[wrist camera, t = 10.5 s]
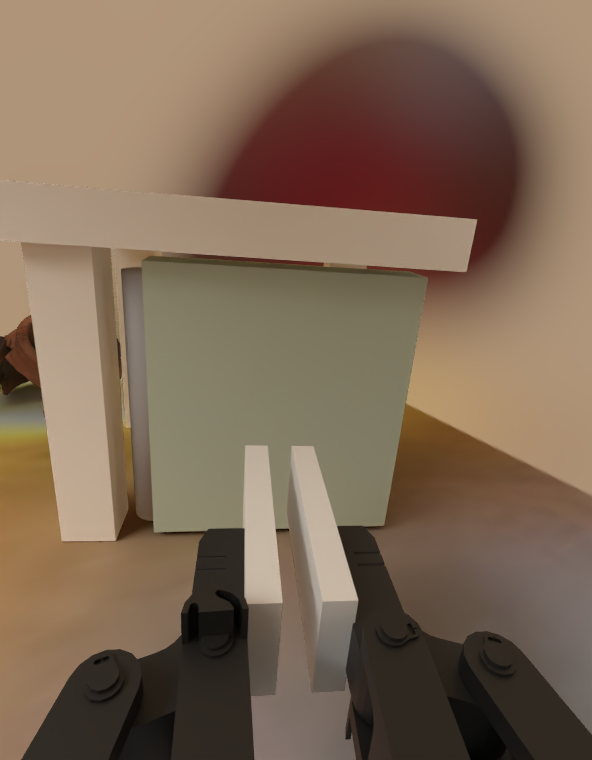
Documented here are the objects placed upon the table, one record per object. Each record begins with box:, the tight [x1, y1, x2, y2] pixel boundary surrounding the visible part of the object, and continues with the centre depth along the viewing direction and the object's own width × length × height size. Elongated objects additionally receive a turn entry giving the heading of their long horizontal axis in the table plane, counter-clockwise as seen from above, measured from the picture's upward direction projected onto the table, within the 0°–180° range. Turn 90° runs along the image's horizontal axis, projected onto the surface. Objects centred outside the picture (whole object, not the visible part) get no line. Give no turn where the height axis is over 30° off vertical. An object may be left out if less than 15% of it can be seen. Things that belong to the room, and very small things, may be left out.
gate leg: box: [121, 256, 428, 532], centre depth 22 cm, size 13×2×13 cm, turn 98°
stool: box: [0, 180, 477, 541], centre depth 26 cm, size 18×16×16 cm
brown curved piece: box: [0, 315, 122, 417], centre depth 35 cm, size 12×10×8 cm
